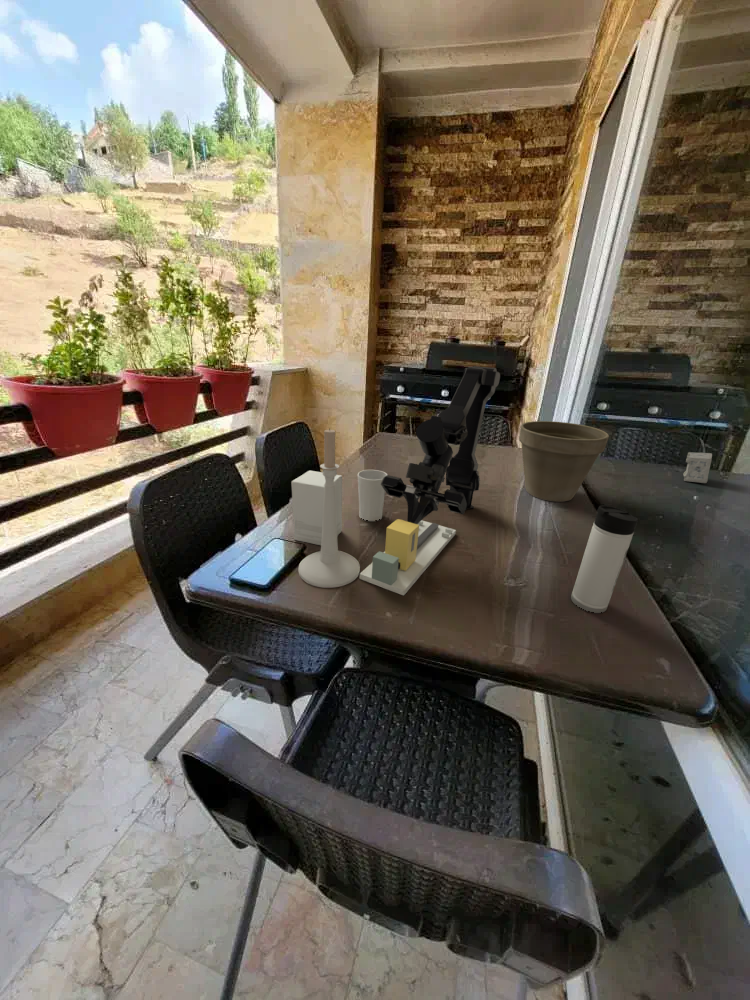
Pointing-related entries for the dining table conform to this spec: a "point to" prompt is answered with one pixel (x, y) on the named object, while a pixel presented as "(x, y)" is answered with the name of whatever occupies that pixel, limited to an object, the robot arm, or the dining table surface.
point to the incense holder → (697, 467)
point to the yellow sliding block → (402, 542)
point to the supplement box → (313, 506)
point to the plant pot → (558, 457)
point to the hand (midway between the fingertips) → (409, 528)
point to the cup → (371, 494)
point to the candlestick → (329, 534)
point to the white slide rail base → (399, 581)
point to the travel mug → (603, 558)
